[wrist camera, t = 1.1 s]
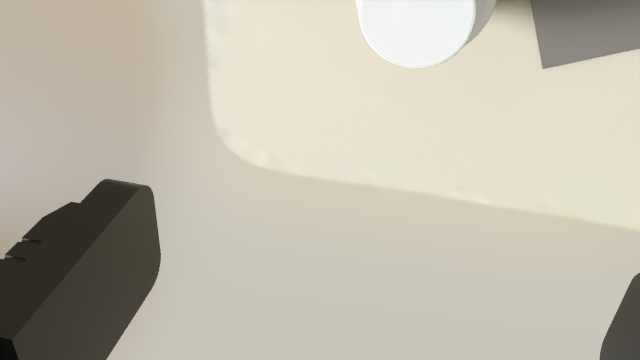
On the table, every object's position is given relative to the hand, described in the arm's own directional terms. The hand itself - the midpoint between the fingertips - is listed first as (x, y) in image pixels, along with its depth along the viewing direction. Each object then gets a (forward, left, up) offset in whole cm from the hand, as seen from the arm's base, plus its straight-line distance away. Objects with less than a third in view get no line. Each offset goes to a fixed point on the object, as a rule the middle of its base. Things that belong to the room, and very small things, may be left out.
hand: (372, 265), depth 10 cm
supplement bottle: (+1, 0, -22) cm, 22 cm away
